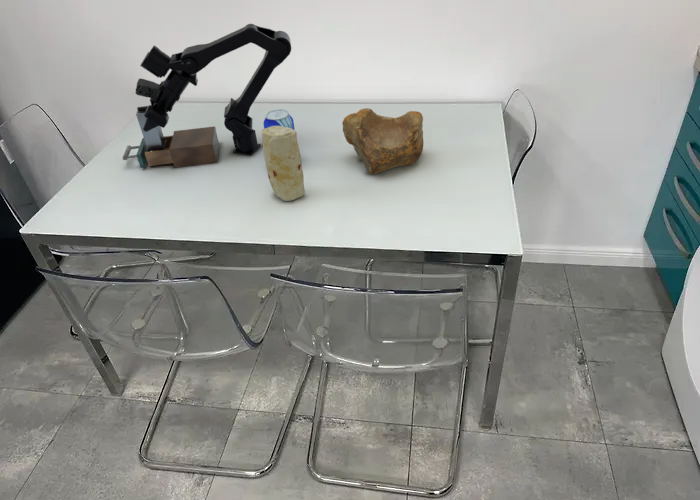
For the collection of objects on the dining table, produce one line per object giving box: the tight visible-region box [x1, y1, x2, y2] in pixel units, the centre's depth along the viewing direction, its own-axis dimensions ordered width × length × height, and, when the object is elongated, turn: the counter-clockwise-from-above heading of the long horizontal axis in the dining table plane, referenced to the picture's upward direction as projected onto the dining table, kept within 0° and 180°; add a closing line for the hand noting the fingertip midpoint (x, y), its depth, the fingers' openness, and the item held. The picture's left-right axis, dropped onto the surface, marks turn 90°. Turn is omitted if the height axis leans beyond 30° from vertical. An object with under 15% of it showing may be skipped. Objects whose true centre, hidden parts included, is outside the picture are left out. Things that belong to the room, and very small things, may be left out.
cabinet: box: [169, 126, 220, 169], centre depth 173 cm, size 13×12×6 cm
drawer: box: [122, 135, 173, 169], centre depth 172 cm, size 17×11×5 cm, turn 97°
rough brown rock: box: [341, 107, 424, 175], centre depth 158 cm, size 23×17×15 cm
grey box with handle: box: [135, 105, 167, 152], centre depth 167 cm, size 5×5×13 cm
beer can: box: [262, 108, 296, 131], centre depth 162 cm, size 8×8×16 cm
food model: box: [261, 126, 306, 202], centre depth 147 cm, size 10×7×20 cm
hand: (145, 127), depth 167 cm, fingers closed on grey box with handle, 4 cm apart
